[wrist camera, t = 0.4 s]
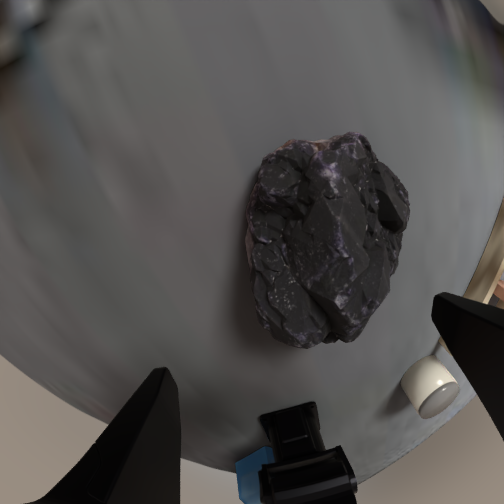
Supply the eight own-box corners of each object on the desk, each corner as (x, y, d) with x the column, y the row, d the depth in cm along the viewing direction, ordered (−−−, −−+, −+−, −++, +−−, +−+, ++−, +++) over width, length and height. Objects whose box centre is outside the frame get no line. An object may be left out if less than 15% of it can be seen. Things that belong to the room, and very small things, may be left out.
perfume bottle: (235, 462, 35) (243, 534, 24) (264, 445, 34) (279, 523, 23) (266, 470, 37) (279, 535, 26) (296, 454, 36) (314, 523, 25)
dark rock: (371, 112, 20) (445, 98, 11) (412, 263, 24) (476, 320, 15) (208, 172, 22) (177, 194, 12) (275, 319, 26) (286, 404, 17)
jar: (434, 377, 33) (454, 405, 28) (398, 395, 33) (416, 425, 28) (441, 348, 31) (465, 376, 25) (402, 367, 31) (424, 399, 25)
